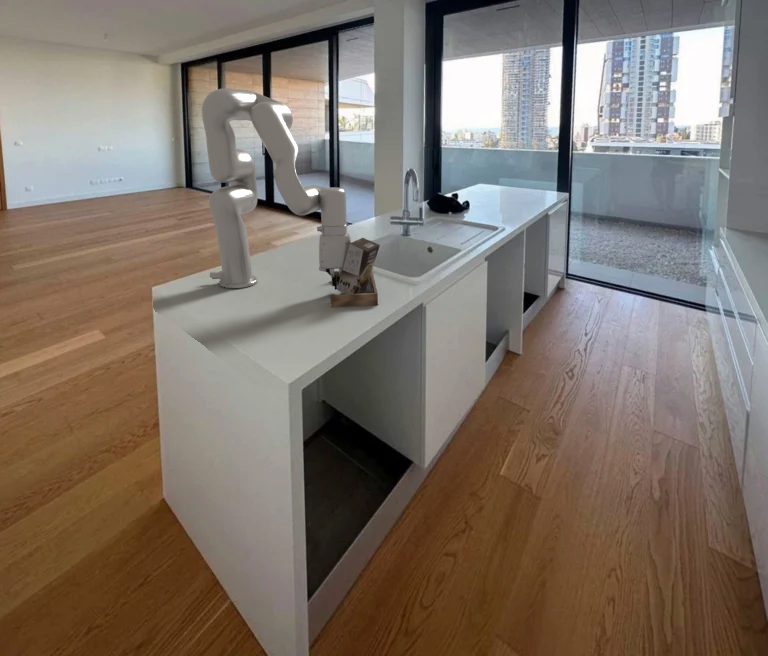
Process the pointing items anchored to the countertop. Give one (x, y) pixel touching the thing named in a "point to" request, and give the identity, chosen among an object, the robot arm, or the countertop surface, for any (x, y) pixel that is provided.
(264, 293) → the countertop surface
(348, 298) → the walnut bay
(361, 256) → the coffee box
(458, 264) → the countertop surface
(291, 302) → the countertop surface
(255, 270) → the countertop surface
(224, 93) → the robot arm
